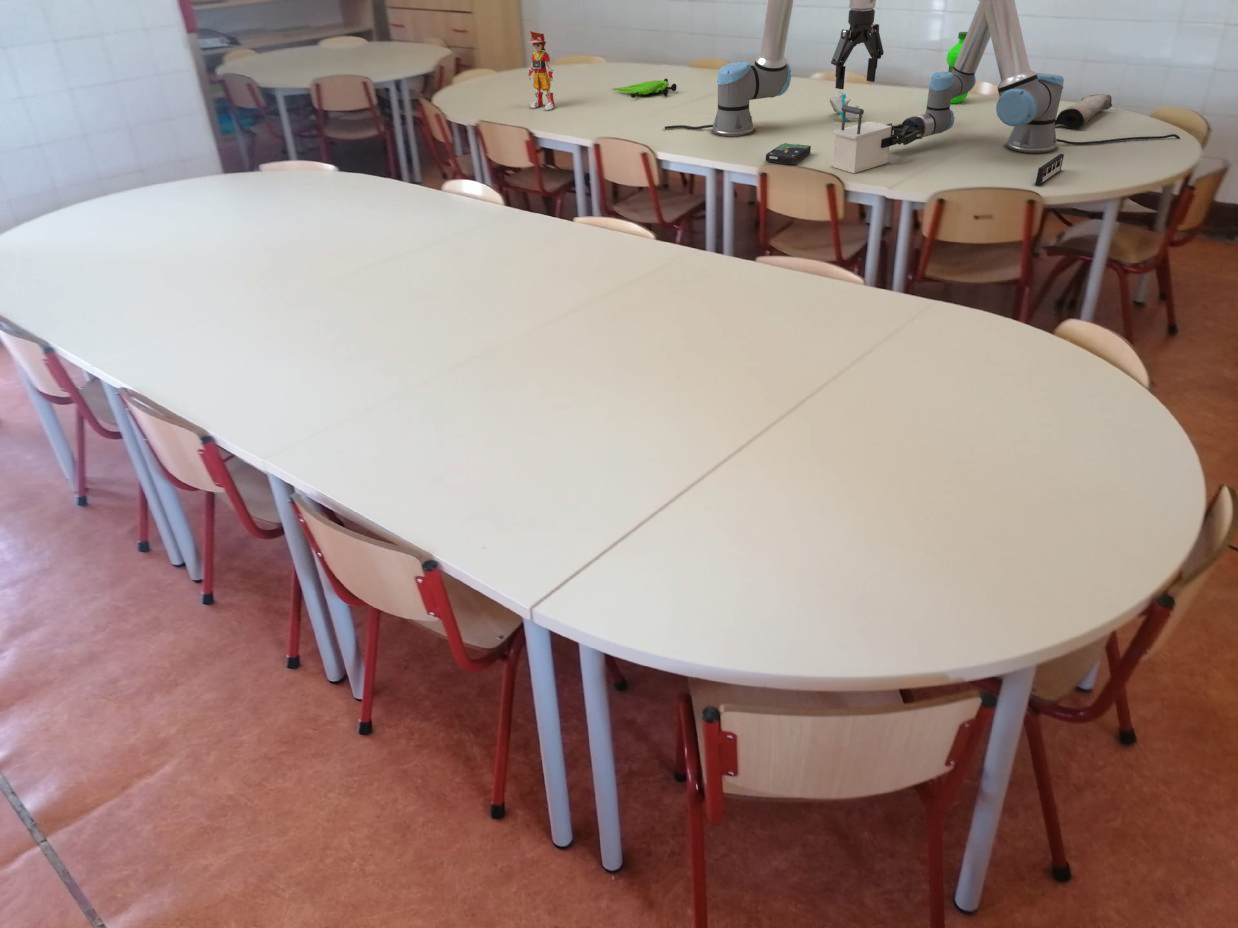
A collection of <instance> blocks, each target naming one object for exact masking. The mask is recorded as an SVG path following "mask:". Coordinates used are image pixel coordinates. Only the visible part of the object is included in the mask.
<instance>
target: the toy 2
mask: <svg viewBox="0 0 1238 928" xmlns="http://www.w3.org/2000/svg"><path fill="white" fill-rule="evenodd" d="M669 85H670V83H669V79H668V78H664V79H663V80H649V81H644V82H640V83H634V84H629V85H627V86H621V87H613V88H612V89H613V90H616V91H619V92H623V93H627V94H628V93H629V94H631V95H630V96H631V98H632V99H634V98H636V96H637V95H650V94H652V93H654V94H658V93H662V95H663V96H665V97H667V96H668V95H669V90H671V91H672V92H676V91H677V84H676V83H672V84H671V86H669Z"/></svg>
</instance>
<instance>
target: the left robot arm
mask: <svg viewBox="0 0 1238 928" xmlns="http://www.w3.org/2000/svg"><path fill="white" fill-rule="evenodd" d="M876 1H877V0H849V6H848V7H849V9H850V10H848V17H847V18H848V19H847V23H848V25H849V28H848V29H841V32H840V37H839V40H838V43H837V46H836V48H835V50H834V52H833V56H832V58H831V61H830V64H831V65H833V66H835V75H834V76H835V87H834V88H835V89H837V90H844V88H845V78H846V65H845V64H846V62H847V60H848V58H849V56H850V55H851V53H852V51H853V50H854V48H855V47H856V46H857V45H860V44H864V46H865V48H866V50H867V52H868V54H869V56H870V57H869V58H868V59H867V60H868V62H867V69H866V70H867V72H866V82H871V83H875V81H876V73H877V68H878V63H879V60H881V58H882V56H884V52H885V51H884V47H883V43H882V40H881V35H880V24H879V23H874V22H875V16H876V15H875V14H876V10H875V8H876V3H877V2H876ZM793 5H794V0H767V6H766V14H765V20H764V27H763V33H762V40H761V45H760V46H761V47H760V52H759V54H757V55H756V56H755V59H754V64H752V65H751V63H750V62H749V61H739V62H738V61H734V62H730V63H727V64H724V65H723V66H721V67H720V68H719V70H718V75H717V82H716V83H717V111H716V114H715V118H714V120H713V123H712V124H707V125H705V124H704V125H700V126H691V125H686V124H685V125H683V124H679V125H678V124H677V125H667V126H664V130H669V129H688V130H701V129H709V128H712V133H713V134H715V135H717V136H721V137H741V136H746V135H750V134H752V133H754V122H753V116H752V115H751V111H750V101H753V100H760V99H768V98H775V97H780V96H782V95H784V94H785V93H786V92H787V91H788V90H789V87H790V84H791V81H792V69H791V65H790V64H789V63H788V59H787V58H786V56H785V54H786V53H785V51H786V46H787V41H788V36H789V35H788V34H789V29H790V23H791V18H792V17H791V16H792V11H793Z"/></svg>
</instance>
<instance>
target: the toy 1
mask: <svg viewBox="0 0 1238 928" xmlns="http://www.w3.org/2000/svg"><path fill="white" fill-rule="evenodd" d="M529 33H530V35H531V36H528V37H527V38H528V39H529V40H528V41H527V43H529V44H530V43H531V44H532V48H533V50H534V51H533V52H532V55H531V58H530V59H531V63H530V66H528V74H527V75H528V76H527V77H528V79H529V80H531V75H532V74H533V84H532V85H533V86H532V87H533V88H534V89H535V90H536V92H534V95H535V97H536V100H535V101H533V102H531V105H530V108H531V109H535V108H538V107H542V106H544V101H543V100H544V99H543V95H544V92H546V94H545V97H546V99H547V103H546V104H545V106H544V110H546V111H549V110H553V109H554V107H555V106H556V105H555V99H554V92H551V91H550V90H551V86H552V84H551V82H552V81H553V80H554V77H553V73H554V71H555V70H554V69H552V68H551V63H550V61H551V59H550V58H551V57H550V54H549V53H548V52H547V50H546V48H545V46H546V44H547V41H545V35H544V33H543V32H542V33H539V32H535V31H529Z"/></svg>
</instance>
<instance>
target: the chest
mask: <svg viewBox="0 0 1238 928" xmlns="http://www.w3.org/2000/svg"><path fill="white" fill-rule="evenodd" d="M834 135H835V136H834V148H833V149H834V150H833V158H832V159H833V160H832V168H835V169H839V170H841V171H846V172H849V173H852V174H856V173H860V172H863V171H865V170H869V169H873V168H875V167H879V166H882V165H885V164H888V162H889V152H890V146H889V147H885V148H881V142H882V139H885V138H888V137H890V136H891V130H888V131H884V132H881V133H877V134H873V135H870V136H866V137H863V138H859V139H856V140H855V139H851V138H847V137H844V136H840V135H836V134H834Z"/></svg>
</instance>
